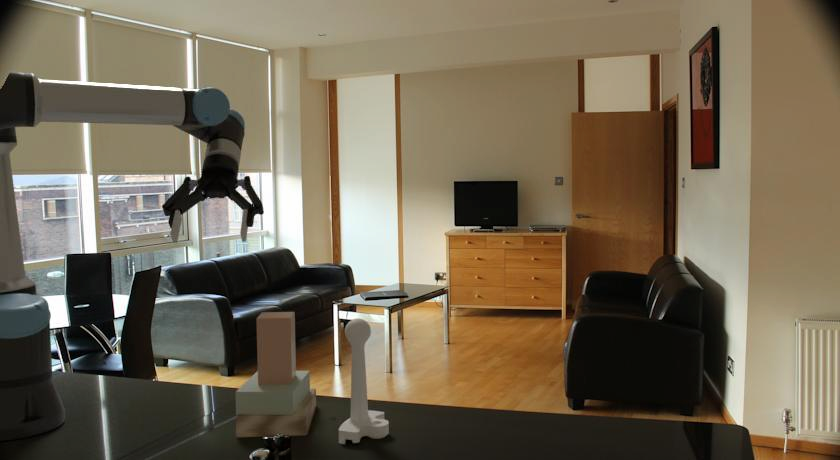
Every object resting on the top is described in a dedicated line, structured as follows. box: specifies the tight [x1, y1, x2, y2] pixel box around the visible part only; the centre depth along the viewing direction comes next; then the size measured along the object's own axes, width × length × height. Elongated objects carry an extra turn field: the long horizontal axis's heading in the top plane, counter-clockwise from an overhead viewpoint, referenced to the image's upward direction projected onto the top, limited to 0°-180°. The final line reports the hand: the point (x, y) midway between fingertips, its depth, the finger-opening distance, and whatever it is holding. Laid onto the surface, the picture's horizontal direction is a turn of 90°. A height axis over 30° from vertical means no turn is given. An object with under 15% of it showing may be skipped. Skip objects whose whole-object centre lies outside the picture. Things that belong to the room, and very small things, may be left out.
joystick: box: [338, 318, 390, 445], centre depth 120 cm, size 11×8×20 cm
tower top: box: [234, 370, 311, 416], centre depth 128 cm, size 10×14×4 cm
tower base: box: [235, 388, 317, 438], centre depth 128 cm, size 12×16×4 cm
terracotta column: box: [255, 311, 297, 385], centre depth 128 cm, size 6×6×12 cm
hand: (208, 238), depth 140 cm, fingers open, 13 cm apart
